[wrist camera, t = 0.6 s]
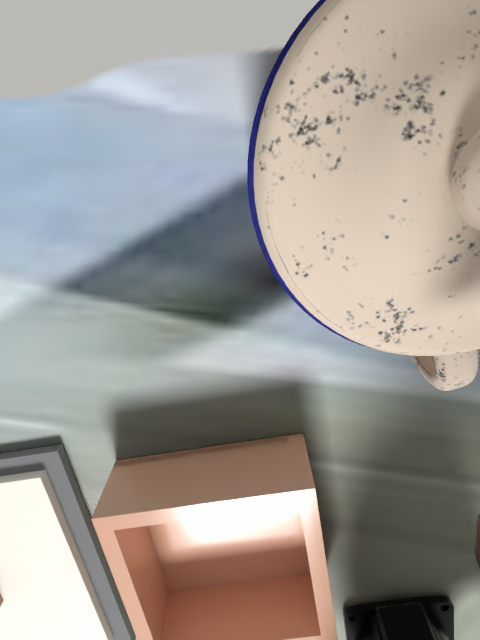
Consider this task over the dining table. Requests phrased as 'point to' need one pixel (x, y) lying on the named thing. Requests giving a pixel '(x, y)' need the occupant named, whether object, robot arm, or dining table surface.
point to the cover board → (42, 568)
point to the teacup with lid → (377, 177)
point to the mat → (75, 526)
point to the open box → (219, 543)
